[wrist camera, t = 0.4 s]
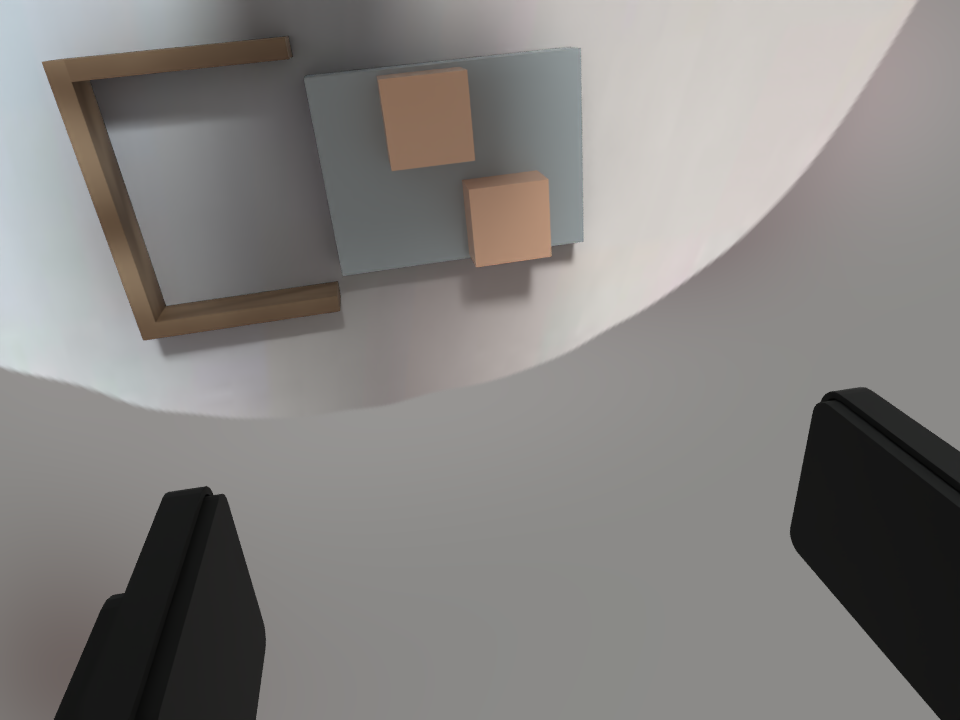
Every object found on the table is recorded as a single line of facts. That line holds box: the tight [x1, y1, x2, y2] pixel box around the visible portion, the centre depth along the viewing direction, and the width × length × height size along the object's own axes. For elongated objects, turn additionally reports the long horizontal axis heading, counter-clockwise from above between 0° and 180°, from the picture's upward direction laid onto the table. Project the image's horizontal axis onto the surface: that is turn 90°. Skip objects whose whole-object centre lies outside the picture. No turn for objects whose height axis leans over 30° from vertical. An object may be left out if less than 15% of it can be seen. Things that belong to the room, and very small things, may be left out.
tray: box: [42, 36, 341, 340], centre depth 37 cm, size 15×12×2 cm
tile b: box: [462, 170, 552, 267], centre depth 39 cm, size 4×4×2 cm
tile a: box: [376, 67, 475, 171], centre depth 35 cm, size 4×4×2 cm
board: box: [304, 47, 584, 276], centre depth 39 cm, size 11×15×2 cm
